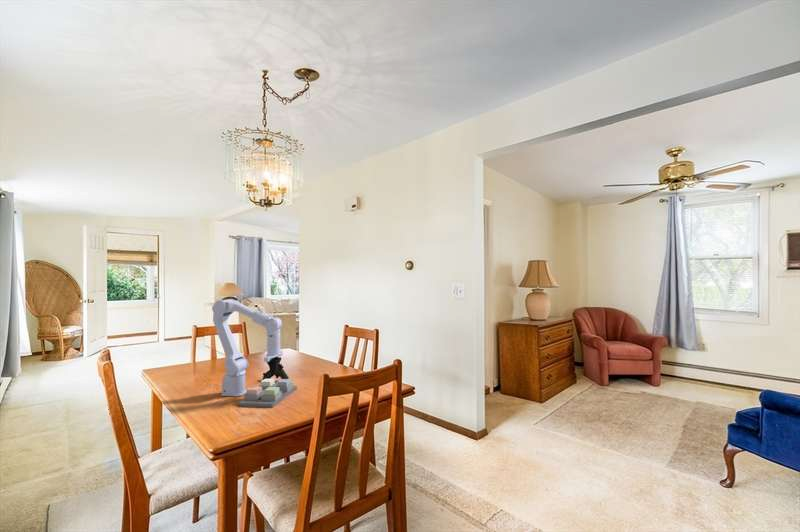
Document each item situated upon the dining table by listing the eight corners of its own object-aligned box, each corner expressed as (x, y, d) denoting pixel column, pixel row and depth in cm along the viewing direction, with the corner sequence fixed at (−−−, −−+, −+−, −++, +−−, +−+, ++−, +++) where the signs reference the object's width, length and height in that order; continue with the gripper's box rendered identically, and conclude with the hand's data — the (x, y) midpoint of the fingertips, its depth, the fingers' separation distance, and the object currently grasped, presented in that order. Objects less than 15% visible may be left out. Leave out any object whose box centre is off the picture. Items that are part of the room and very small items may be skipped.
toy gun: (288, 378, 189) (277, 361, 190) (270, 392, 190) (259, 376, 192) (290, 376, 191) (279, 360, 192) (272, 390, 193) (262, 374, 194)
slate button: (277, 387, 169) (277, 381, 169) (281, 384, 173) (281, 379, 174) (286, 387, 168) (286, 382, 168) (290, 384, 173) (290, 379, 173)
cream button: (260, 386, 170) (260, 381, 170) (265, 383, 174) (265, 378, 175) (270, 387, 169) (270, 381, 169) (274, 384, 174) (274, 378, 174)
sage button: (264, 396, 157) (264, 390, 157) (269, 392, 162) (269, 386, 162) (274, 396, 156) (274, 390, 157) (279, 392, 161) (279, 387, 161)
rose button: (246, 395, 158) (246, 389, 158) (252, 392, 163) (252, 386, 163) (256, 395, 157) (256, 389, 157) (262, 392, 162) (262, 386, 162)
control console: (238, 406, 154) (238, 397, 154) (267, 387, 179) (267, 380, 179) (272, 407, 152) (272, 398, 152) (296, 388, 177) (296, 380, 177)
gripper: (274, 347, 161) (274, 378, 161) (288, 341, 176) (288, 370, 175) (259, 347, 162) (259, 378, 162) (274, 341, 176) (274, 369, 176)
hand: (273, 374), depth 169 cm, fingers closed
